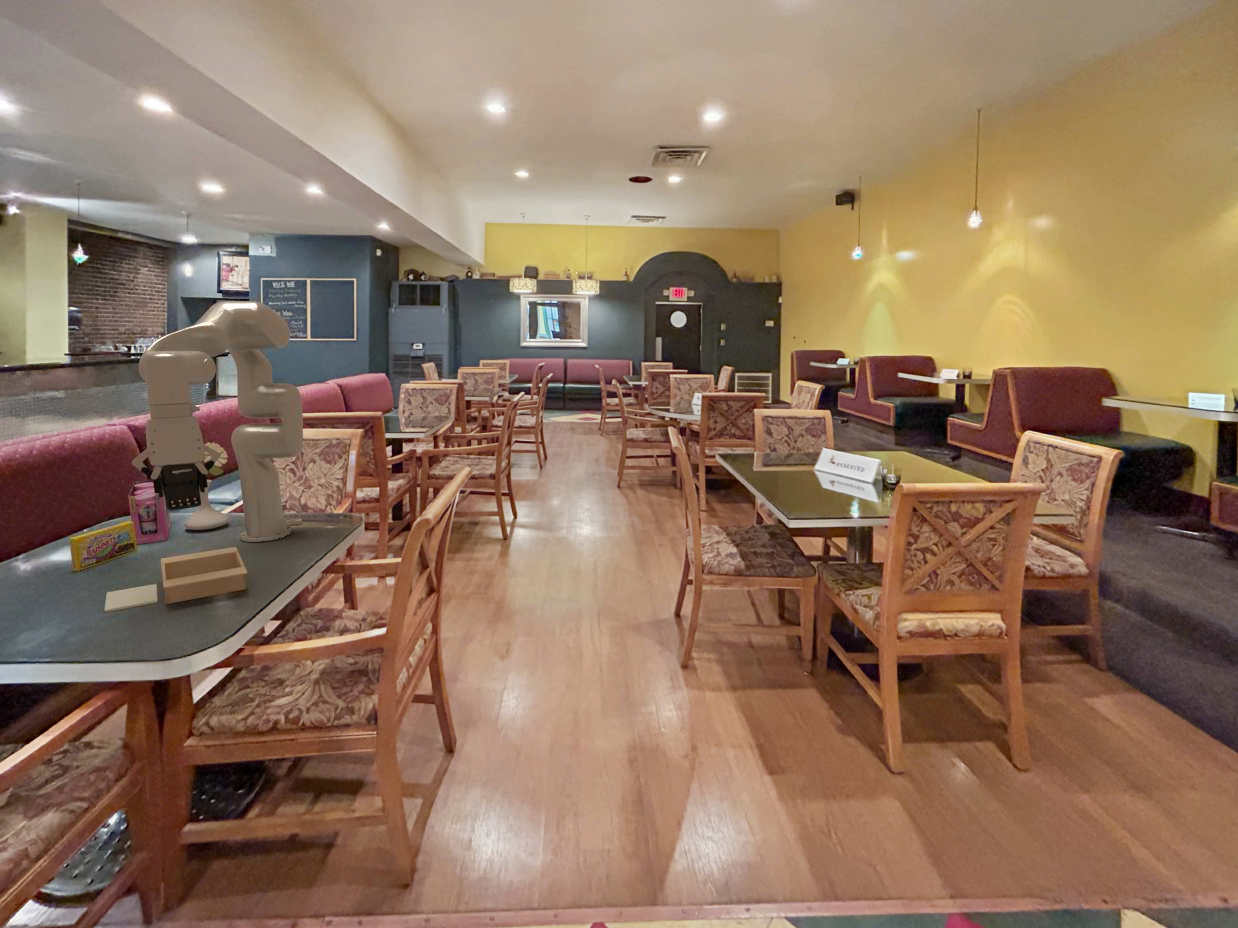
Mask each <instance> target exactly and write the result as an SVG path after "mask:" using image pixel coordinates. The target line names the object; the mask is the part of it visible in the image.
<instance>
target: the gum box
mask: <svg viewBox="0 0 1238 928" xmlns="http://www.w3.org/2000/svg"><path fill="white" fill-rule="evenodd" d="M162 490H163V489H162ZM127 498H128V505H129V513H130V520H131V522H134V528H135V537H136V545H141V544H142V545H143V544H148V543H150V544H151V543H157V542H167V541H168V538H169V534H170V530H171V525H172V520H171V514H170V510H167V509H165V501H164V494H163V497H161V498H159V493H156V494H155V492H154V485H153V479H150V480H142V481H141V480H140V481H134V482H133V484H132V488H131V489H130V492H129V493H128V496H127Z"/></svg>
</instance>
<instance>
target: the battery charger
mask: <svg viewBox="0 0 1238 928" xmlns="http://www.w3.org/2000/svg"><path fill="white" fill-rule="evenodd" d="M199 475H200V474H199V469H198V468H197V466H196V465H195V463H194V464H175V465H170V464H168V465H165V466H163V467H162V469H161V471H160V473H159V477H160V478H161V483H162V489H163V494H164V501H165V509H167V510H169V511H178V510H186V509H193V508H197V507H199V506H200V505H201V498H200V490H199Z"/></svg>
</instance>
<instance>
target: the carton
mask: <svg viewBox="0 0 1238 928" xmlns="http://www.w3.org/2000/svg"><path fill="white" fill-rule="evenodd" d="M160 565H161V567H160V568H161V574H162V586H163V593H164V601H165V605H168V604H169V605H170V604H175V603H178V602H179V603H180V602H185V601H190V600H195V599H202V598H205V597H211V596H216V595H217V596H218V595H222V594H228V593H232V592H237V591H243V590H247V589H248V579H247V574H248V573H249V572H248V570H247V568H246V567H245V563H244V562H243V560H242V557H241V555H240V553H239V551H238V549H237V546H233V547H227V548H219V549H214V550H213V549H212V550H208V551H200V552H195V553H188V554H183V555H175V556H170V557H169V556H168V557H163V558H160Z"/></svg>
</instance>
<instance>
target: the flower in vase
mask: <svg viewBox="0 0 1238 928" xmlns="http://www.w3.org/2000/svg"><path fill="white" fill-rule="evenodd" d="M204 444H205V445H206V446H208V447H210V448H212V449H213V450H215V451H217V452H219V453H220V455H221V456H220V458H219V459H218V460H217V461H216V462H215V464H214V465H213V466H212V468H211V469H210V470H209V471H208V472H207V473H206V477H207V476H208V473H210V474H211V475H213V476H218V475H219V476H220V475H221V474H223V473H224V470H223V469H221V468H222V466H223V465H225V464H226V463H227V462H228V459H227V458H229V455H228V453H227V451H226V450H225V449H224V447H222V446H221V445H220V444H219V443H215V442H212V443H211V442H209V441H208V442H207V443H204ZM210 458H211V455H210V454H208V453H207V452H205V459H204V460H203V462H204V464H205V463H206V462H207V461H208V460H209V459H210ZM212 481H213V480H212V479H207V485H208V487H207V488H204V489H205V492H203V493H202V492H201V491H200V498H201V505H200V506H198V508H197V509H196V511H194V512H193V513H192V514H191V515H190V516H189V517H188V518H187V519H186V520H185V521H184V523H183V526H184V528H186V529H187V530H193V531H202V530H203V531H206V530H212V529H216V528H220V527H222V526H224V525H226V524H228V523H229V521H230V518H229V517H228V516H227V515H226V514H225V513H222V511H219V510H217V509H215V508H214V507H212V506H211V504H210V501H209V488H210V486H211V484H212ZM199 490H200V487H199Z"/></svg>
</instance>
